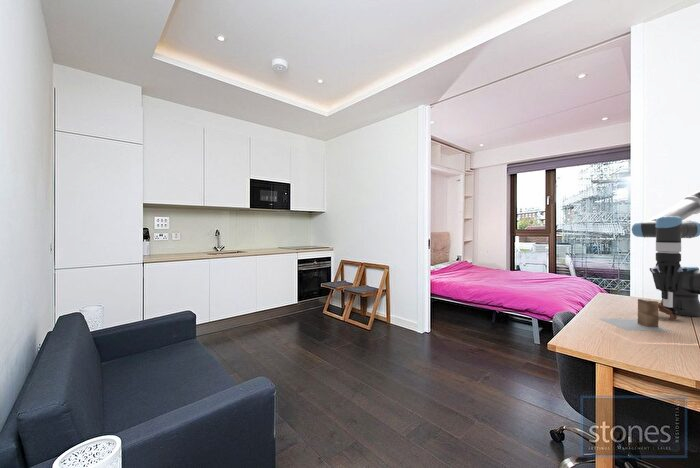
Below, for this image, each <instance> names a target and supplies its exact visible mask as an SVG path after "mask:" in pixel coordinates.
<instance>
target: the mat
mask: <svg viewBox="0 0 700 468" xmlns="http://www.w3.org/2000/svg"><path fill="white" fill-rule="evenodd" d="M597 319H599V320H601V321H603V322H605V323H608V324H610V325H612V326H615V327H617V328H620V329H622V330H624V331H645V332H646V331H647V332H649V331H650V332H651V331H654V332H673V330H671V329H669V328H667V327H663V326H661V325H658V327H646V326H643V325H640V324H638V318H602V317H601V318H597Z"/></svg>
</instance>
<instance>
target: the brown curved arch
mask: <svg viewBox="0 0 700 468" xmlns="http://www.w3.org/2000/svg"><path fill="white" fill-rule="evenodd" d="M659 309H660V310H659ZM668 309H669V310H668ZM658 310H659V311H660V312H662V313H665V314H666V315H668V316H669V318H667V319H668V321H674V320H676V319H677V318H678V315H677V314H678V312H677V311H676V310H675V309H674V308H672V307H666V306H663V303H661V302H658ZM671 313H673V314H671Z"/></svg>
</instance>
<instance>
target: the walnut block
mask: <svg viewBox="0 0 700 468" xmlns="http://www.w3.org/2000/svg"><path fill="white" fill-rule="evenodd" d="M658 303H659V301H657V300H654V299H650V298H638V299H637V319H638V324H640V325H643V326H646V327H658V326H659V308H658Z"/></svg>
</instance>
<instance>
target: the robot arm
mask: <svg viewBox="0 0 700 468" xmlns="http://www.w3.org/2000/svg"><path fill="white" fill-rule="evenodd" d="M698 214H700V190H698V191H695V192H692V193H691V194H688V195H687V196H685V197H683V198H681V199H680V200H679V202H678V203H677V204H675V205H673V206H672V207H670V208H668V209H666V210H664V211H663V212H660V213H659V214H657V215H655V216H653V217H651V218H650V219H648V220H646V221H637V222H634V223H633V224H632V226H631V232H632V234H633V236H635V237H637V238H655V261H656V263H655V266H654V267H650V268H649V271H650V272H651V274H652V279H653V281H654V286H655V289H656V290H658V291H661V300H660V303H663V306H666V307H672V308H674V309H675V310H676V311H677V312H678V314H677V316H686V317H700V300H699V296H700V268H699V267H698V266H681V264H680V262H681V261H682V253H681V252H682V239H692V238H698V237H700V223H699V221H698V222H697V221H696V220H695V221H694V220H693V221H692V220H686V219H688V218H689V217H691V216H693V215H698ZM668 310H669V309H668ZM658 311H661V310H660V309H659V308H658ZM671 314H673V313H671Z"/></svg>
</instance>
